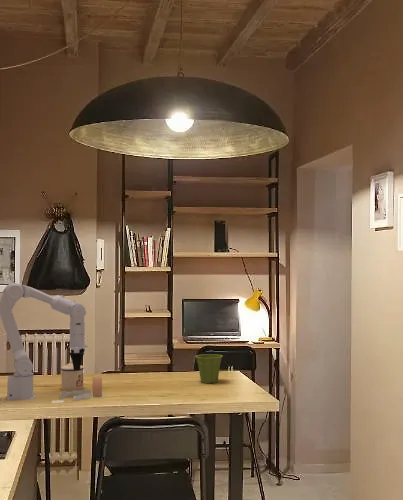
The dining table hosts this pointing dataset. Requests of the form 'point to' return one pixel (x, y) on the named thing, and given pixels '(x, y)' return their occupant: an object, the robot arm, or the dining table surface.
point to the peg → (97, 386)
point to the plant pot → (209, 367)
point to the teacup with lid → (71, 378)
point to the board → (63, 400)
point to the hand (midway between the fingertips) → (77, 369)
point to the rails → (76, 394)
